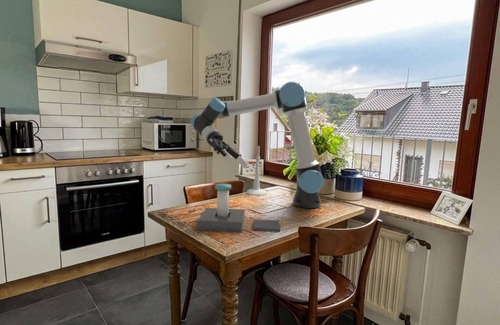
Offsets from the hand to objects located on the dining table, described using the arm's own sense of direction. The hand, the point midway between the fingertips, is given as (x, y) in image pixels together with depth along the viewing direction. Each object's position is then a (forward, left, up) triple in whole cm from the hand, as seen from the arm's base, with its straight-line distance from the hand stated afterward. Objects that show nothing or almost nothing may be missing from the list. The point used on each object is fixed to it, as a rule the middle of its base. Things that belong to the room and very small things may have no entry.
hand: (238, 163), depth 135 cm
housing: (+6, +10, -25) cm, 28 cm away
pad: (-13, +11, -25) cm, 30 cm away
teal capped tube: (+6, +10, -25) cm, 28 cm away
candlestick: (-7, -48, -25) cm, 55 cm away
